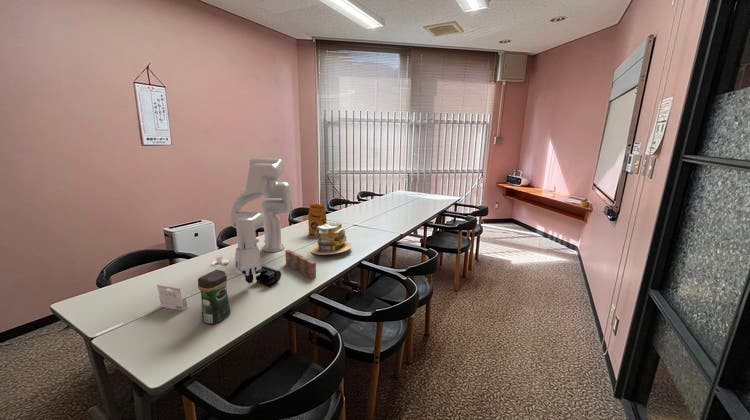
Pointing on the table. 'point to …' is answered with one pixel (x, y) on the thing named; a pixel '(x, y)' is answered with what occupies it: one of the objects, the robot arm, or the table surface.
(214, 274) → the coffee jar
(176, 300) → the ink cartridge box
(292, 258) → the walnut board
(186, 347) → the table surface
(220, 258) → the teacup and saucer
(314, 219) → the coffee package
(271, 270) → the end cap
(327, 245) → the stacked tins on plate
